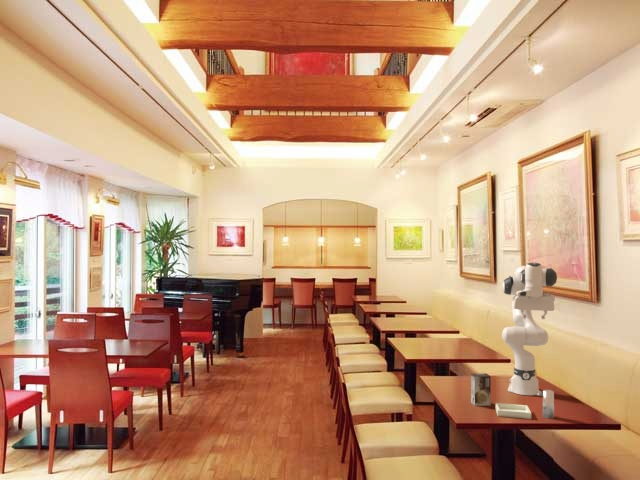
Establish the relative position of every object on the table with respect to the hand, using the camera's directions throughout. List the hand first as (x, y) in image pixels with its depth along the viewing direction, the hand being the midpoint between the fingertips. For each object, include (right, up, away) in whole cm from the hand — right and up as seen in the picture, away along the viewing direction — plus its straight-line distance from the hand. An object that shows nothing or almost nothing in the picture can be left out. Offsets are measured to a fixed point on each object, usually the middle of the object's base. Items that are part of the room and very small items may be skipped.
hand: (533, 318), depth 272 cm
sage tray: (-15, -48, -10) cm, 51 cm away
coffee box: (-27, -48, +5) cm, 55 cm away
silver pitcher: (0, -48, -15) cm, 50 cm away
